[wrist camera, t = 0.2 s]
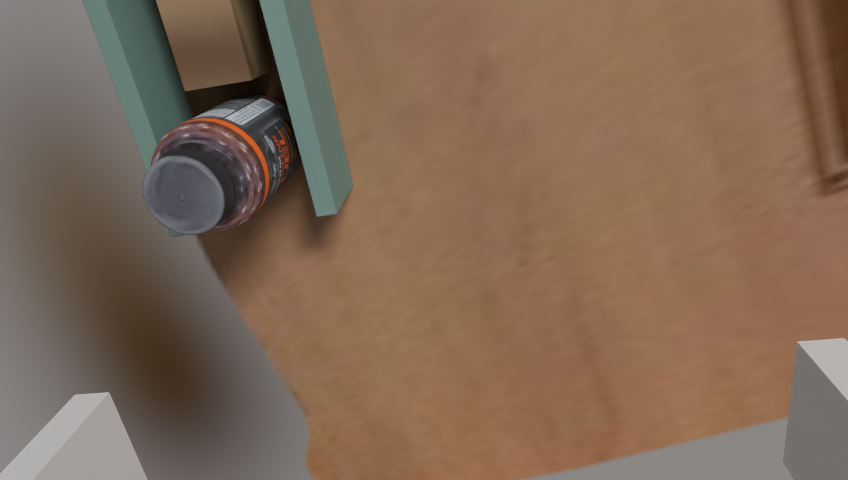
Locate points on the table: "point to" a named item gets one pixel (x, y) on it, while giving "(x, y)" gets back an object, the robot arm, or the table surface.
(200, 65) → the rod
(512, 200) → the table surface
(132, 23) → the channel
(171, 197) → the supplement bottle
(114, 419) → the robot arm
